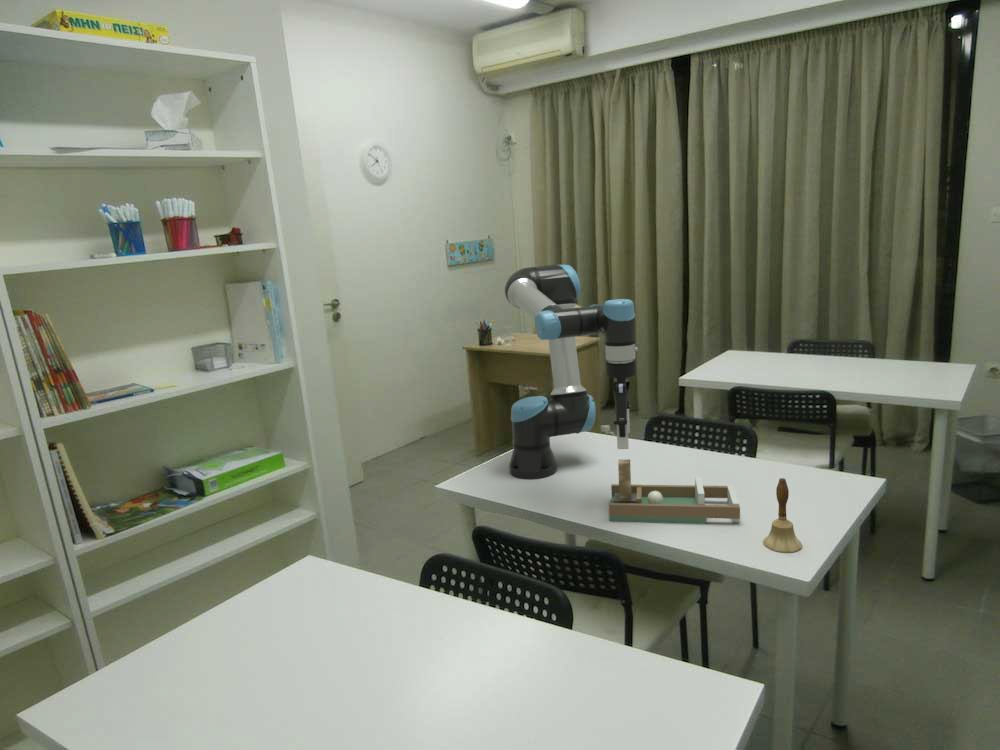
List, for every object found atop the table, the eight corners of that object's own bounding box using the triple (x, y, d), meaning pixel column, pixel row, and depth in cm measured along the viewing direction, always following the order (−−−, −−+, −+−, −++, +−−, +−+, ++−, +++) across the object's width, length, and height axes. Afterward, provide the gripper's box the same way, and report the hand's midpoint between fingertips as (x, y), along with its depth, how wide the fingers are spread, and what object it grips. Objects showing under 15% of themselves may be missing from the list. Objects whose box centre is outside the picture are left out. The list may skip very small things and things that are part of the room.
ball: (647, 508, 172) (647, 494, 171) (647, 502, 175) (647, 488, 175) (663, 508, 171) (662, 494, 170) (662, 502, 174) (662, 488, 174)
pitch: (609, 521, 169) (608, 493, 168) (612, 499, 183) (611, 474, 181) (739, 524, 162) (739, 496, 161) (732, 501, 175) (732, 475, 174)
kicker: (613, 509, 172) (611, 466, 169) (614, 497, 179) (613, 456, 177) (641, 510, 170) (640, 466, 167) (641, 498, 178) (640, 456, 175)
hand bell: (760, 549, 149) (761, 483, 146) (765, 534, 156) (766, 471, 153) (800, 555, 145) (802, 488, 142) (803, 539, 152) (805, 474, 149)
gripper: (635, 370, 154) (638, 455, 158) (636, 351, 178) (639, 426, 182) (602, 370, 155) (606, 456, 160) (608, 352, 179) (611, 426, 183)
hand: (623, 440), depth 171 cm, fingers open, 13 cm apart
